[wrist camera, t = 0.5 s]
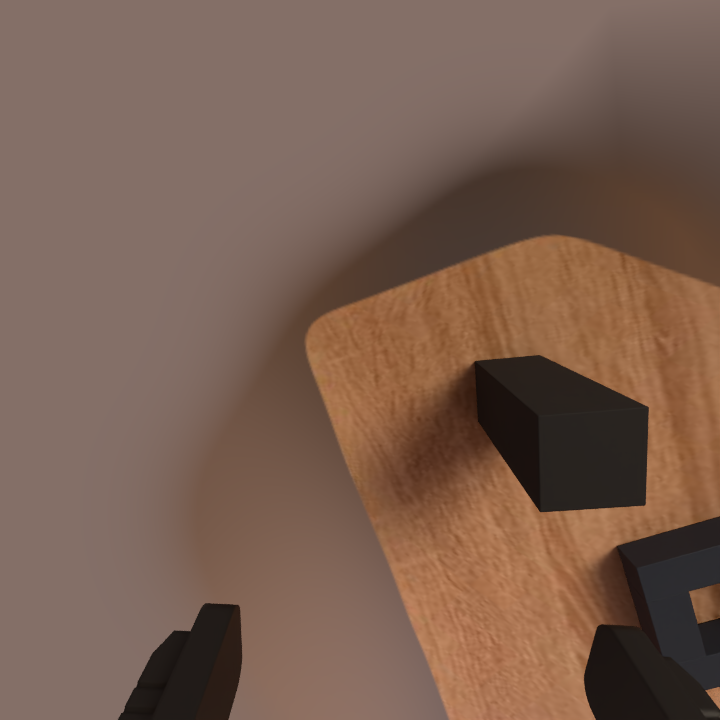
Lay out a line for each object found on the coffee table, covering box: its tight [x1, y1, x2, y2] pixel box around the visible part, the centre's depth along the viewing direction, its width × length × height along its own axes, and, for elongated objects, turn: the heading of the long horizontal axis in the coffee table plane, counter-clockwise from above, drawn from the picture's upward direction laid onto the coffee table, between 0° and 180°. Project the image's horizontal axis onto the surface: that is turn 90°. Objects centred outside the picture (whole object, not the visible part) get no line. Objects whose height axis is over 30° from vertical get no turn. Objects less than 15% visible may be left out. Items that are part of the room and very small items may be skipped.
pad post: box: [475, 355, 649, 512], centre depth 24 cm, size 5×5×12 cm
